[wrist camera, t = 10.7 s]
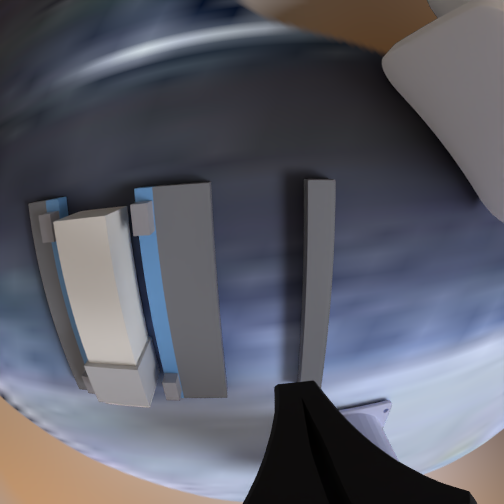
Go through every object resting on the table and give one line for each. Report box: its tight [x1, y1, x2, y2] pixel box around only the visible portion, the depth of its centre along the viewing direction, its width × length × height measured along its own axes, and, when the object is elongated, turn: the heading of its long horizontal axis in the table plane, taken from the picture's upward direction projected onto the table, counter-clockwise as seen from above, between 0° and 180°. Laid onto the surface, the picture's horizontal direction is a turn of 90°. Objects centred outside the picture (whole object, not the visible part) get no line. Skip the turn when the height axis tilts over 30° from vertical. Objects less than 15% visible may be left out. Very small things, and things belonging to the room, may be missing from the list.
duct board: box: [28, 179, 335, 400], centre depth 17 cm, size 14×18×2 cm
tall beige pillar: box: [53, 206, 160, 408], centre depth 16 cm, size 12×4×4 cm, turn 2°
